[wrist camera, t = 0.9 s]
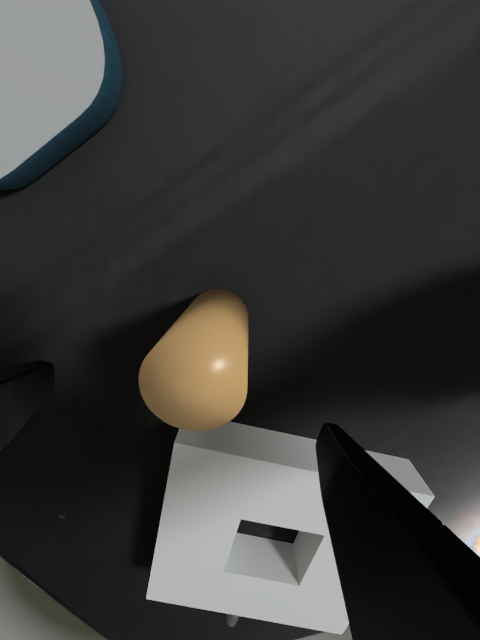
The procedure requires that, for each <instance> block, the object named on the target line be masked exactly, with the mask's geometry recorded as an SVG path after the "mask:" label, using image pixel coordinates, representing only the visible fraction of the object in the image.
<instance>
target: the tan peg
mask: <svg viewBox="0 0 480 640" xmlns="http://www.w3.org/2000/svg"><path fill="white" fill-rule="evenodd" d="M248 319H249V317H248V311H247V308H246V306H245V304H244V302H243V301H242V300H241V299H240V298H239V297H238V296H237V295H236V294H234V293H232V292H230V291H228V290H224V289H211V290H207V291H205V292H203V293H201V294H200V295H198V296H197V297H196V298H195V299H194V301H193V302H192V303H191V304H190V305H189V306H188V308H187V309H186V310H185V311H184V312H183V313H182V315H181V316H180V317H179V318H178V319H177V320H176V322H175V323H174V324H173V325H172V326H171V328H170V329H169V330H168V331H167V332H166V333H165V335H164V336H163V337H162V338H161V339H160V340H159V342H158V343H157V344H156V345H155V346H154V347H153V349H152V350H151V351H150V352H149V353H148V355H147V356H146V357H145V359H144V361H143V363H142V365H141V368H140V372H139V388H140V392H141V395H142V398H143V400H144V402H145V403H146V405H147V406H148V408H149V409H150V410H151V411H152V412H153V413H154V414H155V415H156V416H157V417H158V418H160V419H161V420H162V421H164V422H166V423H167V424H169V425H171V426H174V427H177V428H180V429H184V430H189V431H206V430H211V429H215V428H218V427H220V426H223V425H224V424H226V423H228V422H229V421H231V420H232V419H233V418H234V417H235V416H236V415H237V414H238V413H239V412H240V410H241V409H242V407H243V405H244V403H245V400H246V396H247V386H248Z"/></svg>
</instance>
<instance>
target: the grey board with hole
mask: <svg viewBox="0 0 480 640" xmlns="http://www.w3.org/2000/svg"><path fill="white" fill-rule="evenodd" d="M316 441H317V440H315V439H310V438H305V437H301V436H296V435H291V434H286V433H282V432H277V431H272V430H268V429H263V428H258V427H253V426H249V425H244V424H239V423H235V422H230V421H229V422H228V423H226V424H224V425H223V426H220V427H218V428H215V429H211V430H206V431H189V430H184V429H180V428H179V431H178V434H177V436H176V439H175V442H174V447H173V452H172V458H171V463H170V469H169V474H168V480H167V485H166V491H165V496H164V502H163V507H162V513H161V518H160V524H159V529H158V535H157V540H156V546H155V552H154V557H153V563H152V568H151V574H150V579H149V585H148V590H147V596H146V599H149V600H155V601H160V602H166V603H171V604H177V605H182V606H188V607H193V608H199V609H204V610H209V611H215V612H220V613H226V614H227V615H226V621H227V624H228V625H229V626H231V627H233V626H234V625H235V624H236V623H237V620H238V618H239V616H242V617H248V618H253V619H259V620H264V621H270V622H275V623H281V624H286V625H292V626H297V627H303V628H308V629H314V630H319V631H325V632H330V633H336V634H343V632H344V631H345V629H346V628H347V626H348V625H349V621H348V616H347V612H346V607H345V603H344V598H343V593H342V589H341V584H340V580H339V575H338V571H337V566H336V562H335V557H334V553H333V548H332V543H331V539H330V534H329V530H328V525H327V521H326V516H325V512H324V507H323V502H322V497H321V490H320V482H319V474H318V465H317V457H316ZM365 451H366V452H367V453H368V454H369V455H370V456H371V457H372V458H374V459H375V460H376V461H377V462H378V463H379V464H380V465H381V466H382V467H383V468H384V469H385V470H386V471H387V472H389V473H390V474H391V475H392V476H393V477H394V478H395V479H396V480H397V481H398V482H399V483H400V484H401V485H402V486H404V487H405V488H406V489H407V490H408V491H409V492H410V493H411V494H412V495H413V496H414V497H415V498H416V499H417V500H419V501H420V502H421V503H422V504H423V505H424V506H425V507H426V508H428V506H429V505H430V503H431V502H432V500H433V499H434V497H435V496H434V495H433V493H432V492H431V490H430V489H429V488H428V486H427V485H426V483H425V482H424V480H423V479H422V478H421V476H420V475H419V473H418V472H417V471H416V469H415V468H414V466H413V465H412V463H411V462H410V461H409V459H405V458H400V457H395V456H390V455H386V454H381V453H376V452H371V451H367V450H365ZM241 519H243V520H248V521H253V522H258V523H263V524H268V525H273V526H278V527H283V528H289V529H294V530H299V532H298V534H297V536H296V539H295V541H294V543H287V542H282V541H277V540H272V539H267V538H262V537H257V536H251V535H246V534H241V533H236V532H237V529H238V526H239V523H240V520H241Z"/></svg>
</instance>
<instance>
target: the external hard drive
mask: <svg viewBox="0 0 480 640" xmlns="http://www.w3.org/2000/svg"><path fill="white" fill-rule="evenodd" d="M99 27H100V28H99ZM104 65H105V66H104ZM122 85H123V72H122V61H121V57H120V53H119V49H118V45H117V41H116V38H115V36H114V33H113V30H112V28H111V25H110V23H109V20H108V18H107V16H106V14H105V12H104V10H103V8H102V6H101V4H100V2H99V0H0V190H12V189H17V188H20V187H24V186H27V185H28V184H30V183H31V182H33V181H35V180H36V179H38V178H39V177H40V176H41V175H43V174H44V173H45V172H46V171H48V170H49V169H50V168H51V167H53V166H54V165H55V164H57V163H58V162H59V161H60V160H62V159H63V158H64V157H65V156H67V155H68V154H69V153H70V152H72V151H73V150H74V149H76V148H77V147H78V146H79V145H81V144H82V143H83V142H84V141H86V140H87V139H88V138H89V137H91V136H92V135H93V134H95V133H96V132H97V131H98V130H99V129H100V128H101V127H102V126H103V125H105V124H106V123H107V122H108V121H109V119H110V118H111V116H112V115H113V113H114V112H115V110H116V109H117V106H118V103H119V100H120V97H121V94H122ZM49 140H50V141H49ZM38 149H39V150H38Z"/></svg>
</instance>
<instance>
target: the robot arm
mask: <svg viewBox="0 0 480 640" xmlns="http://www.w3.org/2000/svg"><path fill="white" fill-rule="evenodd" d="M53 388H54V365H53V364H52V363H51V362H46V361H41V360H37V361H32V362H28V363H23V364H19V365H14V366H10V367H5V368H1V369H0V450H1V449H2V448H3V447H4V446H5V445H6V444H7V443H8V442H9V441H10V440H11V439H12V438H13V437H14V436H15V435H16V434H17V433H18V432H19V430H20V429H21V428H22V427H23V426H24V425H25V423H26V422H27V421H28V420H29V419H30V417H31V416H32V415H33V414H34V413H35V411H36V410H37V409H38V408H39V407H40V405H41V404H42V403H43V402H44V401H45V399H46V398H47V397H48V396H49V395H50V393H51V392H52V390H53ZM316 457H317V465H318V474H319V482H320V490H321V497H322V502H323V507H324V512H325V516H326V521H327V525H328V530H329V534H330V539H331V543H332V548H333V553H334V557H335V562H336V566H337V571H338V575H339V580H340V584H341V589H342V593H343V598H344V603H345V607H346V612H347V616H348V621H349V625H350V630H351V634H352V639H353V640H480V557H479V556H478V555H477V554H476V553H475V552H473V551H472V550H471V549H470V548H469V547H468V546H467V545H466V544H465V543H464V542H462V541H461V540H460V539H459V538H458V537H457V536H456V535H455V534H454V533H453V532H452V531H451V530H450V529H449V528H448V527H446V526H445V525H443V524H442V522H441V521H440V520H439V519H438V518H437V517H436V516H435V515H434V514H432V513H431V512H430V511H429V510H428V509H427V508H426V507H425V506H424V505H423V504H422V503H421V502H420V501H419V500H417V499H416V498H415V497H414V496H413V495H412V494H411V493H410V492H409V491H408V490H407V489H406V488H405V487H404V486H402V485H401V484H400V483H399V482H398V481H397V480H396V479H395V478H394V477H393V476H392V475H391V474H390V473H389V472H387V471H386V470H385V469H384V468H383V467H382V466H381V465H380V464H379V463H378V462H377V461H376V460H375V459H374V458H372V457H371V456H370V455H369V454H368V453H367V452H366V451H365V450H364V449H363V448H362V447H361V446H360V445H359V444H357V443H356V442H355V441H354V440H353V439H352V438H351V437H350V436H349V435H348V434H347V433H346V432H345V431H344V430H342V429H341V428H340V427H339V426H338V425H336V424H332V423H324V424H323V426H322V429H321V431H320V433H319V436H318V438H317V441H316Z"/></svg>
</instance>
